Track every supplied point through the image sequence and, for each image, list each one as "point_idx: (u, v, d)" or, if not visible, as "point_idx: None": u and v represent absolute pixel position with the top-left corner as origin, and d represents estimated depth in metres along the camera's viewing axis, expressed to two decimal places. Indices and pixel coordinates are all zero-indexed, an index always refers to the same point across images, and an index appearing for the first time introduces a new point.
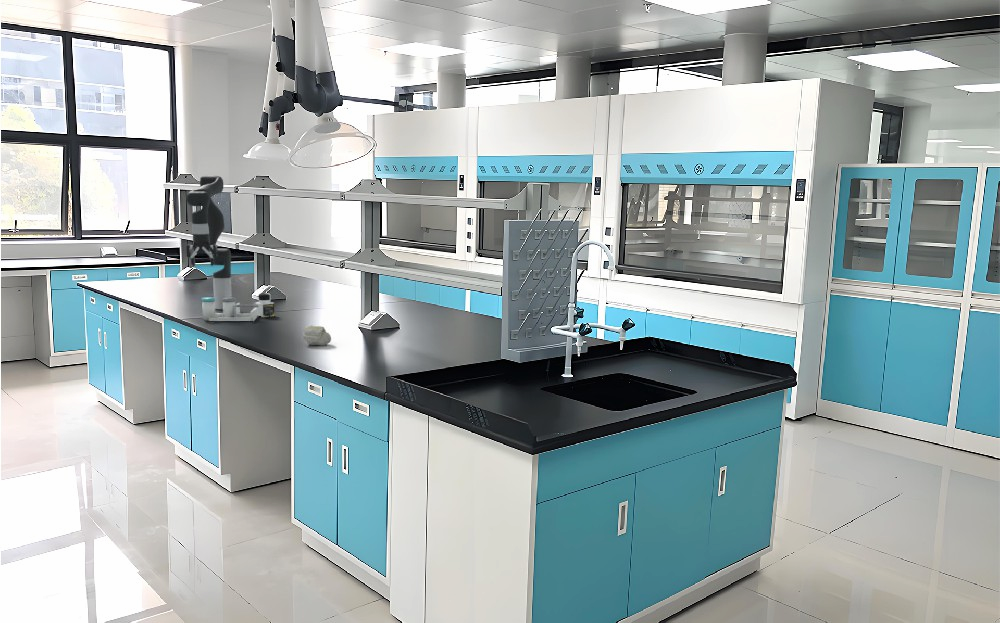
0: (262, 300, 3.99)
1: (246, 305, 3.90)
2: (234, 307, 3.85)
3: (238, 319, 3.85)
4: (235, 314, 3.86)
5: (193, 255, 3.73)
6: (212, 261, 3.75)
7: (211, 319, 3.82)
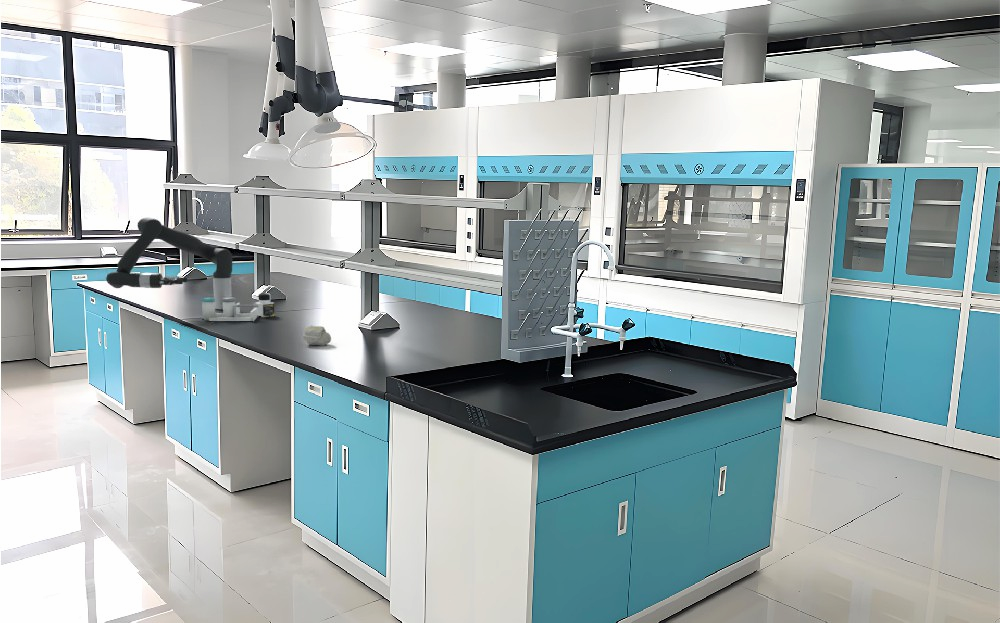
0: (262, 300, 3.99)
1: (246, 305, 3.90)
2: (234, 307, 3.85)
3: (238, 319, 3.85)
4: (235, 314, 3.86)
5: None
6: None
7: (211, 319, 3.82)
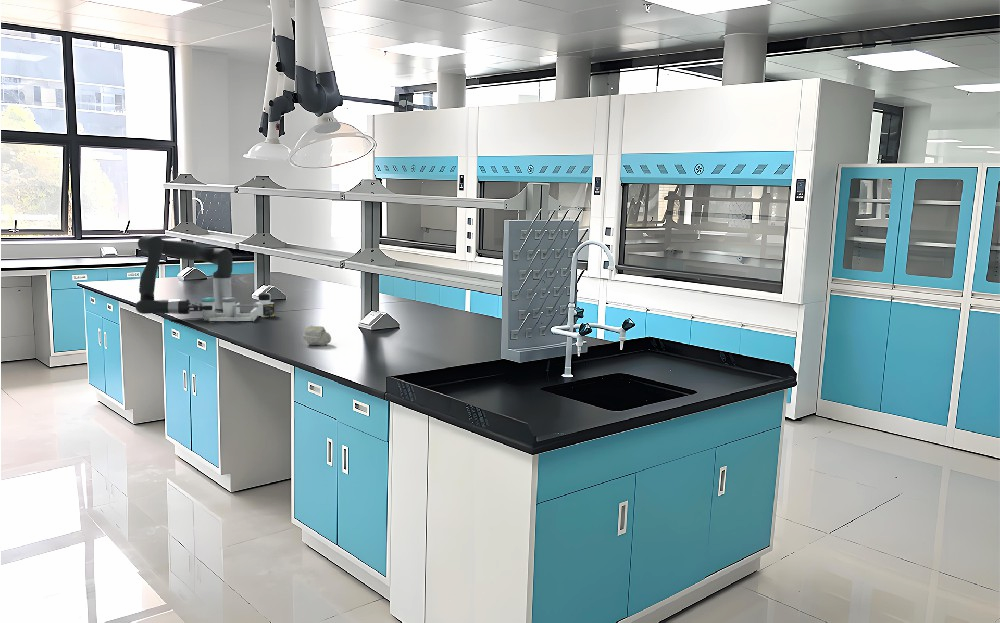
0: (262, 300, 3.99)
1: (246, 305, 3.90)
2: (234, 307, 3.85)
3: (238, 319, 3.85)
4: (235, 314, 3.86)
5: None
6: (207, 309, 3.84)
7: (211, 319, 3.82)
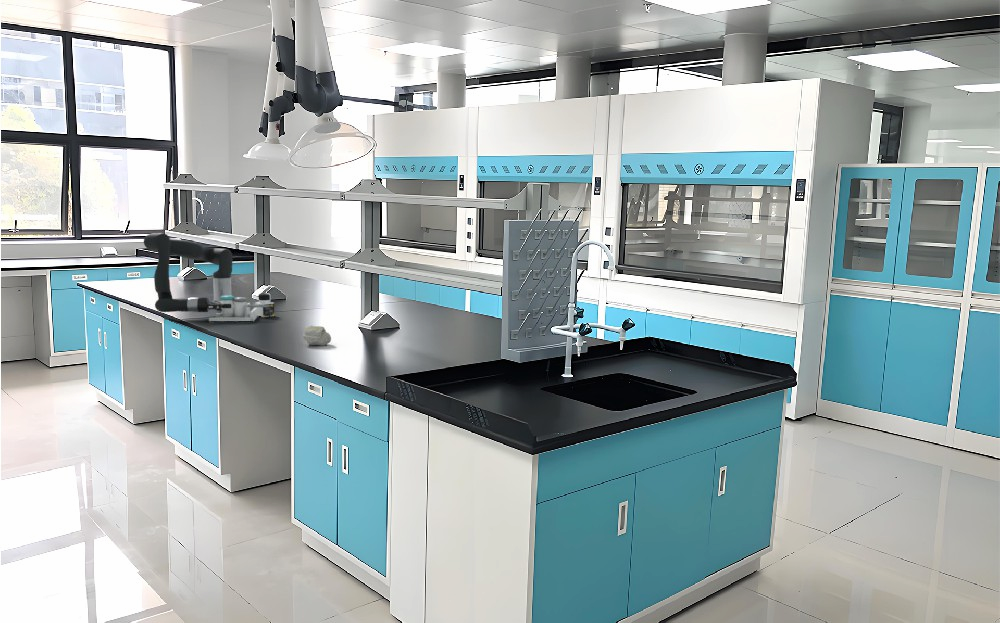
0: (262, 300, 3.99)
1: (256, 305, 3.91)
2: (245, 307, 3.86)
3: (238, 319, 3.85)
4: (246, 314, 3.87)
5: None
6: None
7: (211, 319, 3.82)
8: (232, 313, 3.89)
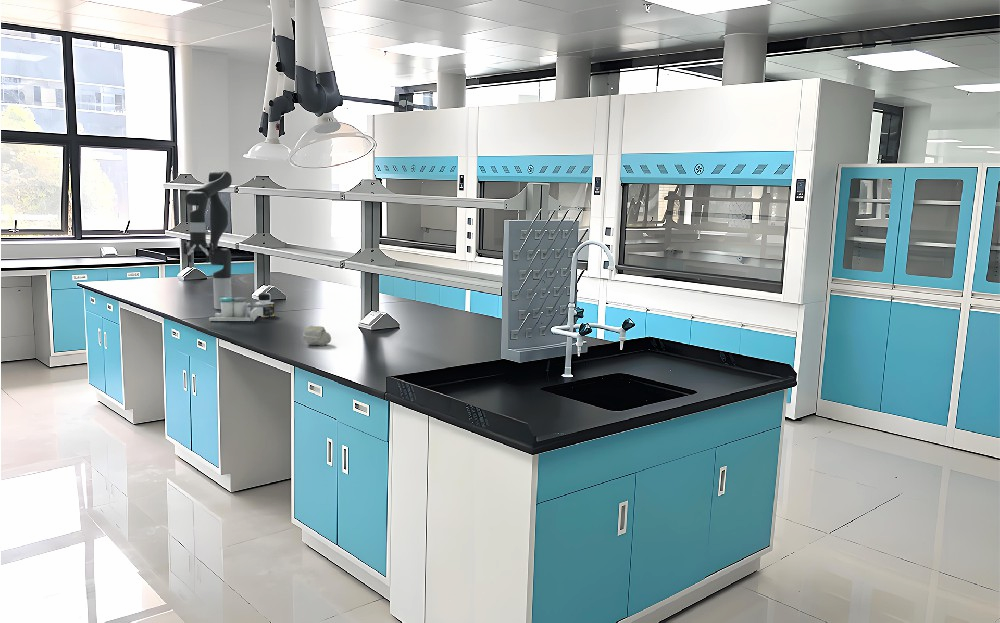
0: (262, 300, 3.99)
1: (257, 305, 3.91)
2: (245, 307, 3.86)
3: (238, 319, 3.85)
4: (246, 314, 3.87)
5: (190, 252, 3.90)
6: (208, 258, 3.92)
7: (211, 319, 3.82)
8: (232, 315, 3.89)
